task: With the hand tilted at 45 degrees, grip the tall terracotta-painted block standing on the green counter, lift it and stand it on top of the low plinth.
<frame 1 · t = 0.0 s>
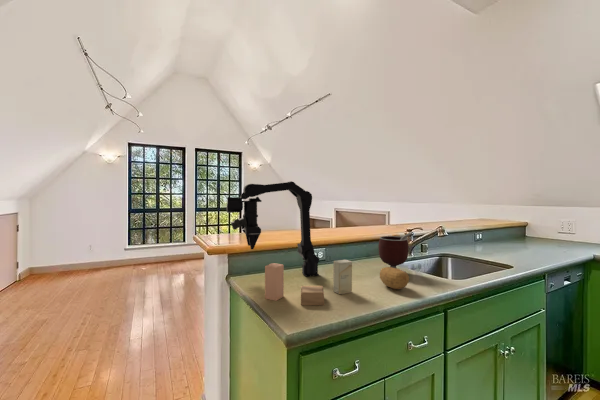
hand: (250, 247, 126), 15 cm above the worktop, tool pointing down, fingers open, 9 cm apart
block: (274, 297, 106), on the worktop
potato: (393, 288, 117), on the worktop
skincare box: (342, 292, 112), on the worktop
mate gourd: (394, 273, 138), on the worktop
plinth: (312, 300, 102), on the worktop
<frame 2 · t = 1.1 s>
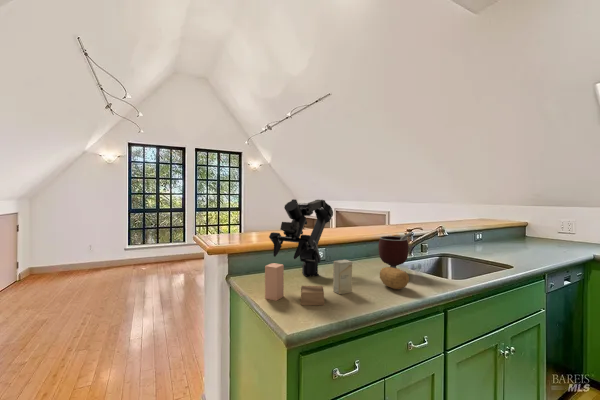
hand: (284, 257, 113), 13 cm above the worktop, tool tilted 45°, fingers open, 9 cm apart
nothing on the worktop moved.
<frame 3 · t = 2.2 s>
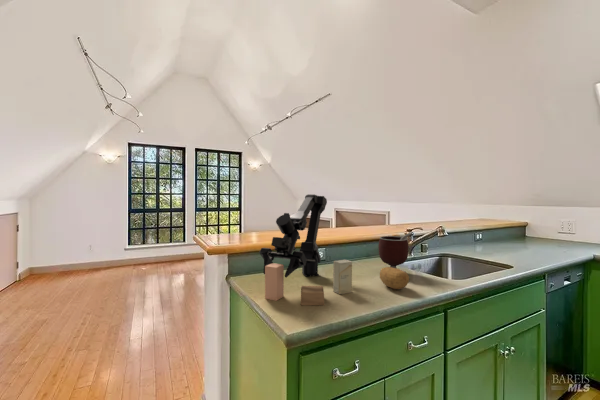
hand: (274, 275, 106), 8 cm above the worktop, tool tilted 45°, fingers open, 9 cm apart
nothing on the worktop moved.
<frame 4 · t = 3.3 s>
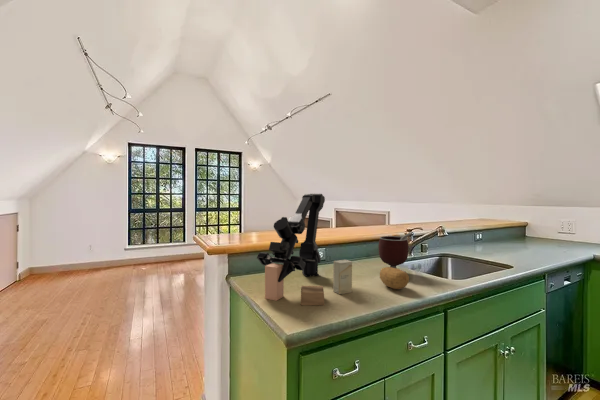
hand: (272, 280, 104), 7 cm above the worktop, tool tilted 45°, fingers closed on block, 5 cm apart
block: (274, 297, 106), on the worktop, touching gripper
everything else where it was.
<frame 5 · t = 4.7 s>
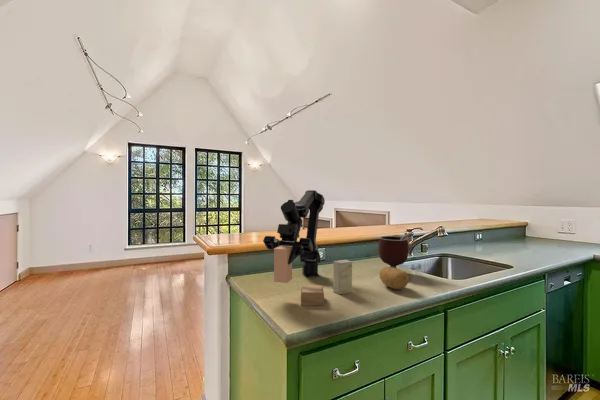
hand: (281, 263, 103), 13 cm above the worktop, tool tilted 45°, fingers closed on block, 5 cm apart
block: (283, 280, 104), point 7 cm above the worktop, touching gripper
everything else where it was.
when the fingers open (12 cm above the worktop, at t = 6.2 s): block drops 1 cm, resting on plinth.
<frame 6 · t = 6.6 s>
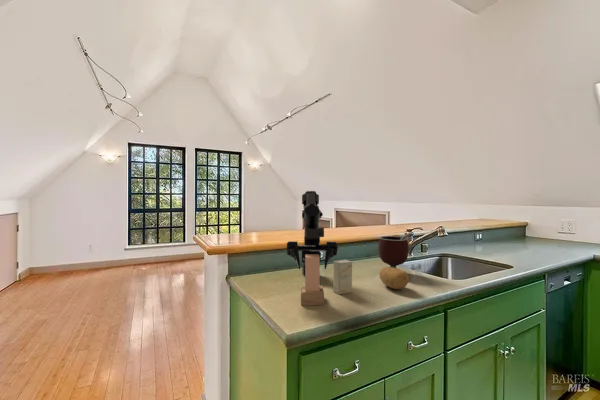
hand: (312, 268, 101), 12 cm above the worktop, tool tilted 45°, fingers open, 9 cm apart
block: (312, 288, 102), point 4 cm above the worktop, touching plinth
everything else where it was.
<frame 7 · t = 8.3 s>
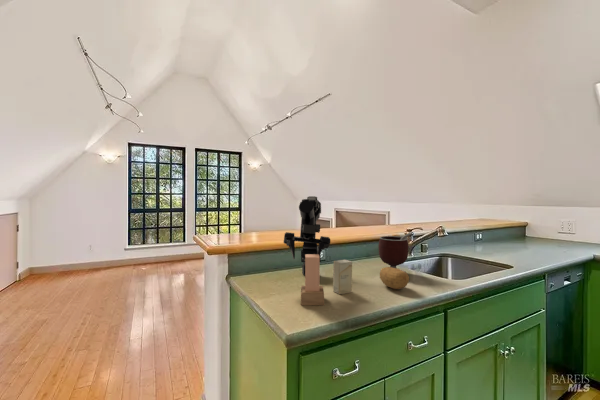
hand: (305, 260, 112), 12 cm above the worktop, tool tilted 35°, fingers open, 9 cm apart
nothing on the worktop moved.
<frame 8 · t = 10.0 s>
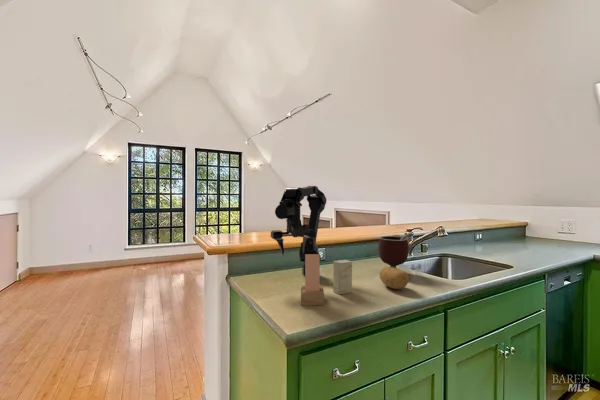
hand: (293, 254, 120), 13 cm above the worktop, tool pointing down, fingers open, 9 cm apart
nothing on the worktop moved.
at the end: block inside the target area on the plinth (0.0 cm from its centre), point 4.3 cm above the plinth's base; block tilted 0°; the gripper is holding nothing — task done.
